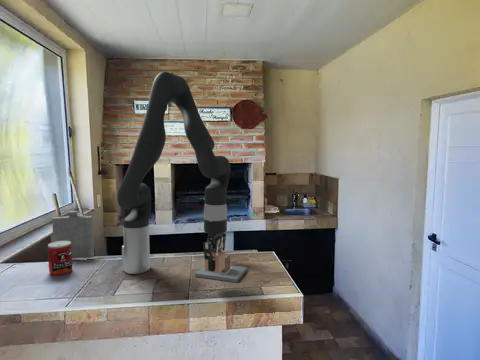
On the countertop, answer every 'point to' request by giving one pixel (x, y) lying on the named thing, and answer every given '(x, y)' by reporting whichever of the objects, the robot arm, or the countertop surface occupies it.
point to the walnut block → (226, 263)
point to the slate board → (223, 274)
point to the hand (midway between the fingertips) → (215, 267)
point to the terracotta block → (217, 263)
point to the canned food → (60, 257)
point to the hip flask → (75, 233)
